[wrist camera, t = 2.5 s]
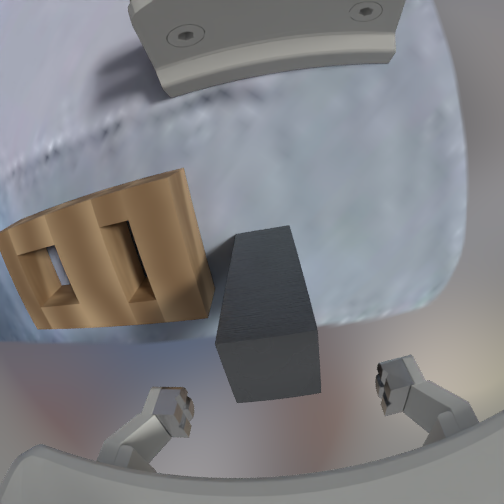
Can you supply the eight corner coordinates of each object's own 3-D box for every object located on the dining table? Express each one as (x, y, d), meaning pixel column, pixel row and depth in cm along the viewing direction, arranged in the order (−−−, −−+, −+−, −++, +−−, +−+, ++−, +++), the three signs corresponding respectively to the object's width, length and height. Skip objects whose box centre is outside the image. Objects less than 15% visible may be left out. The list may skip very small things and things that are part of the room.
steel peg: (246, 280, 24) (236, 403, 13) (236, 234, 22) (214, 343, 11) (295, 272, 23) (321, 392, 12) (289, 225, 22) (317, 330, 11)
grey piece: (165, 99, 18) (90, 23, 8) (160, 51, 18) (99, -28, 8) (393, 63, 16) (448, -20, 6) (371, 18, 16) (405, -67, 6)
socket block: (56, 307, 26) (37, 329, 22) (20, 219, 22) (-6, 235, 18) (215, 288, 24) (207, 318, 20) (183, 167, 20) (167, 177, 16)
